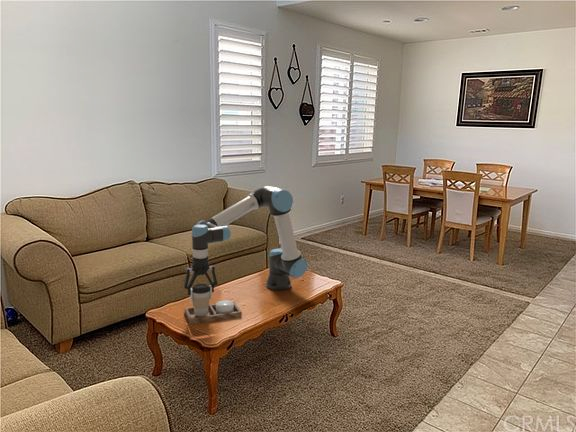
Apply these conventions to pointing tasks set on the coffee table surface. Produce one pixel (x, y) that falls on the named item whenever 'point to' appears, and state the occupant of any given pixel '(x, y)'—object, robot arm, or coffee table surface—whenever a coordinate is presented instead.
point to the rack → (211, 314)
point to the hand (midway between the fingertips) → (201, 299)
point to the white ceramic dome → (224, 307)
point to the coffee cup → (201, 299)
